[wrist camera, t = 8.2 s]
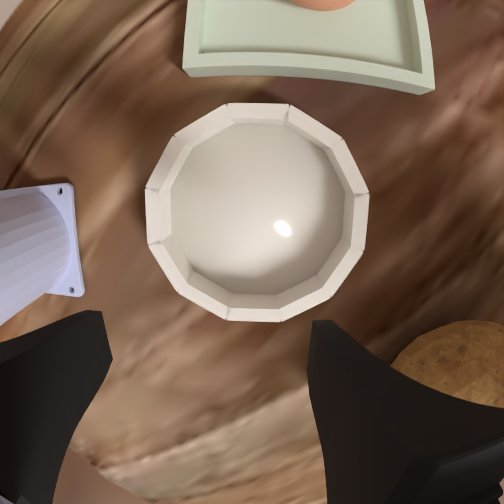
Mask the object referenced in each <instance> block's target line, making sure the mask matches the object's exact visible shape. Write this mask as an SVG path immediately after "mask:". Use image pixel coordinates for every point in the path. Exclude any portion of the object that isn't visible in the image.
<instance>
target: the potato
mask: <svg viewBox="0 0 504 504" xmlns="http://www.w3.org/2000/svg"><path fill="white" fill-rule="evenodd" d="M390 366H391V367H392V368H394V369H395V370H397V371H399V372H401V373H402V374H404V375H406V376H408V377H410V378H411V379H413V380H415V381H417V382H419V383H421V384H423V385H426V386H428V387H430V388H433V389H435V390H438V391H440V392H442V393H445V394H448V395H451V396H454V397H457V398H460V399H463V400H467V401H470V402H474V403H478V404H483V405H488V406H494V407H500V408H504V325H502V324H498V323H495V322H491V321H481V320H466V321H456V322H453V323H451V324H448V325H445V326H442V327H439V328H437V329H434V330H432V331H430V332H427V333H425V334H423V335H420V336H418V337H417V338H416V339H415V340H414V341H413V342H412V343H411V344H409V345H408V346H407V347H406V348H405V349H404V350H403V351H401V352H400V354H399V355H398V356H397V358H396V359H395V360H394V361H393V363H392V364H391V365H390Z"/></svg>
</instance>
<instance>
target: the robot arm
mask: <svg viewBox="0 0 504 504" xmlns="http://www.w3.org/2000/svg"><path fill="white" fill-rule="evenodd" d="M60 188H62V194H61V193H60ZM71 287H73V288H74V291H73V290H72V288H71ZM84 292H85V288H84V282H83V276H82V270H81V263H80V256H79V248H78V239H77V230H76V219H75V206H74V189H73V186H72V184H70V183H59V184H50V185H41V186H32V187H24V188H16V189H9V190H2V191H0V326H1V325H2V324H3V323H4V322H6V321H7V320H8V319H10V318H11V317H12V316H14V315H15V314H16V313H18V312H19V311H20V310H22V309H23V308H25V307H26V306H27V305H29V304H30V303H31V302H33V301H34V300H36V299H37V298H38V297H40V296H41V295H43V294H44V293H51V294H59V295H67V296H75V297H81V296H82V295H83V294H84ZM112 360H113V358H112V354H111V350H110V346H109V342H108V338H107V334H106V329H105V325H104V320H103V316H102V311H93V310H86V311H82V312H79V313H76V314H73V315H70V316H68V317H65V318H63V319H61V320H58V321H56V322H54V323H51V324H49V325H47V326H44V327H42V328H39V329H37V330H34V331H32V332H29V333H27V334H24V335H22V336H19V337H16V338H13V339H10V340H7V341H4V342H1V343H0V504H52V503H53V497H54V491H55V487H56V483H57V479H58V475H59V471H60V468H61V465H62V462H63V459H64V456H65V453H66V450H67V448H68V445H69V443H70V440H71V438H72V435H73V433H74V431H75V429H76V427H77V425H78V423H79V421H80V420H81V418H82V416H83V415H84V413H85V411H86V410H87V408H88V406H89V405H90V403H91V401H92V400H93V398H94V397H95V395H96V393H97V392H98V390H99V388H100V387H101V385H102V383H103V381H104V379H105V377H106V375H107V373H108V370H109V368H110V365H111V362H112ZM307 375H308V386H309V395H310V400H311V404H312V409H313V413H314V417H315V421H316V426H317V430H318V434H319V438H320V443H321V447H322V452H323V458H324V466H325V477H326V489H327V504H500V502H499V500H498V498H499V497H500V496H502V495H503V490H502V488H501V486H500V484H499V483H500V481H501V480H502V479H503V478H504V408H500V407H494V406H488V405H483V404H478V403H474V402H470V401H467V400H463V399H460V398H457V397H454V396H451V395H448V394H445V393H442V392H440V391H438V390H435V389H433V388H430V387H428V386H426V385H423V384H421V383H419V382H417V381H415V380H413V379H411V378H410V377H408V376H406V375H404V374H402V373H401V372H399V371H397V370H395V369H394V368H392V367H391V366H389V365H388V364H386V363H385V362H383V361H382V360H380V359H379V358H378V357H376V356H375V355H373V354H372V353H371V352H369V351H368V350H367V349H366V348H364V347H363V346H362V345H361V344H359V343H358V342H357V341H356V340H354V339H353V338H352V337H351V336H350V335H349V334H347V333H346V332H345V331H344V330H343V329H342V328H340V327H339V326H338V325H337V324H336V323H335V322H333V321H332V320H313V321H312V332H311V341H310V350H309V359H308V367H307Z"/></svg>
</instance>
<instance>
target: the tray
mask: <svg viewBox="0 0 504 504" xmlns="http://www.w3.org/2000/svg"><path fill="white" fill-rule="evenodd" d="M182 68H183V70H184V71H185V72H186V73H187V74H188V75H189V76H190V77H208V76H286V77H303V78H315V79H326V80H335V81H343V82H351V83H358V84H365V85H371V86H377V87H383V88H388V89H393V90H398V91H403V92H408V93H412V94H417V95H422V94H424V93H427V92H430V91H432V90H435V83H434V71H433V60H432V51H431V43H430V36H429V29H428V23H427V17H426V12H425V6H424V1H423V0H356V1H354V2H353V3H351V4H350V5H348V6H346V7H344V8H341V9H338V10H333V11H315V10H310V9H306V8H304V7H301V6H299V5H297V4H295V3H293V2H292V1H290V0H188V5H187V15H186V26H185V37H184V51H183V65H182Z"/></svg>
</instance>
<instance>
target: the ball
mask: <svg viewBox="0 0 504 504" xmlns="http://www.w3.org/2000/svg"><path fill="white" fill-rule="evenodd" d="M290 1H292V2H293V3H295V4H297V5H299V6H301V7H304V8H306V9H310V10H315V11H333V10H338V9H341V8H344V7H346V6H348V5H350V4H351V3H353V2H354V1H356V0H290Z"/></svg>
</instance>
